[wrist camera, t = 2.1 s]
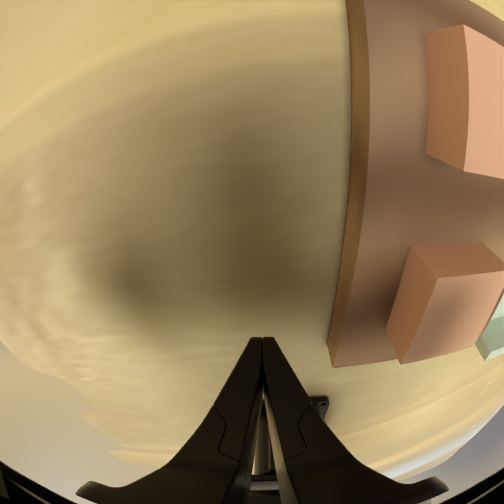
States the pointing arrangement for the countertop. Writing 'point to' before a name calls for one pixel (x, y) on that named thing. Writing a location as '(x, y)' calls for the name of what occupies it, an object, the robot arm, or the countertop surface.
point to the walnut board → (401, 170)
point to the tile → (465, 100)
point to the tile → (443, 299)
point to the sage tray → (493, 335)
